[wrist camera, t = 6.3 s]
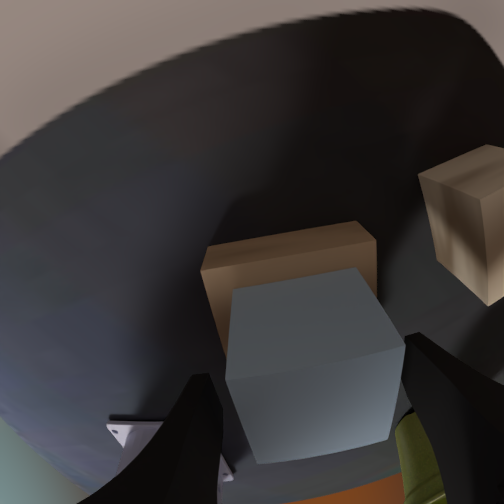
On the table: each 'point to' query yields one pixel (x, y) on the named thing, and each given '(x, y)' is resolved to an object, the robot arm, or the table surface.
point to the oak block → (284, 263)
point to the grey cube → (312, 365)
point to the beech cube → (469, 218)
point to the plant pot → (418, 464)
